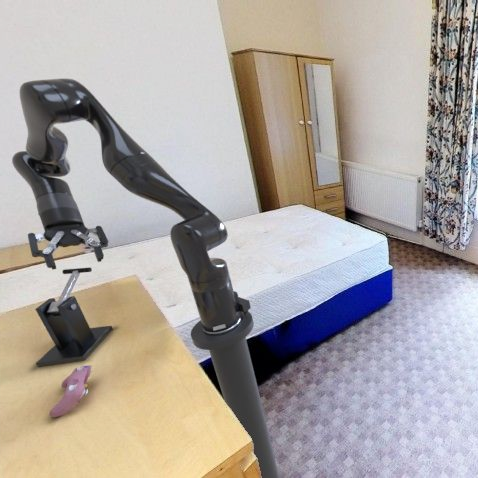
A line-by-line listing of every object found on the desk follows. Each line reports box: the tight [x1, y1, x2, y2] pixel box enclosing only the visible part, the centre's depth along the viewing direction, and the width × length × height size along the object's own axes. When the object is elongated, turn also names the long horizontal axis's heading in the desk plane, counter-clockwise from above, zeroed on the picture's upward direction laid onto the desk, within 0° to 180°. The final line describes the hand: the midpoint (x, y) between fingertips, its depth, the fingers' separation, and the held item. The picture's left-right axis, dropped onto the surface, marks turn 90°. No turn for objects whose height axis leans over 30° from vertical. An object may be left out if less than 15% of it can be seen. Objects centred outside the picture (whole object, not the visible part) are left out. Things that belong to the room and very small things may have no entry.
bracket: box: [34, 295, 114, 368], centre depth 80 cm, size 12×9×14 cm
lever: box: [47, 267, 93, 316], centre depth 81 cm, size 13×6×2 cm, turn 16°
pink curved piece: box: [49, 365, 92, 418], centre depth 68 cm, size 10×5×7 cm, turn 34°
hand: (78, 264), depth 86 cm, fingers open, 8 cm apart
